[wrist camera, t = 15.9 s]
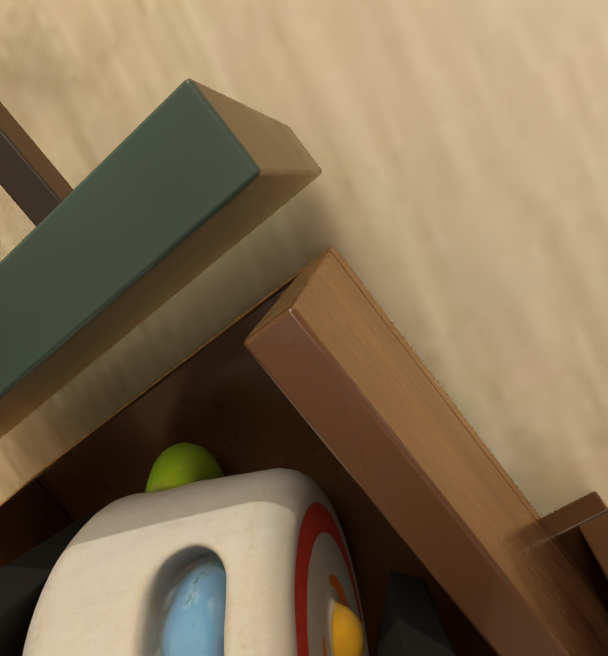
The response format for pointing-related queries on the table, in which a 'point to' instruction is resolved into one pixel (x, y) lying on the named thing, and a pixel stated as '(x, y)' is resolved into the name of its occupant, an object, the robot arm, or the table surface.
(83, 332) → the drawer
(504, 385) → the table surface
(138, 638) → the roller toy
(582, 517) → the cabinet
